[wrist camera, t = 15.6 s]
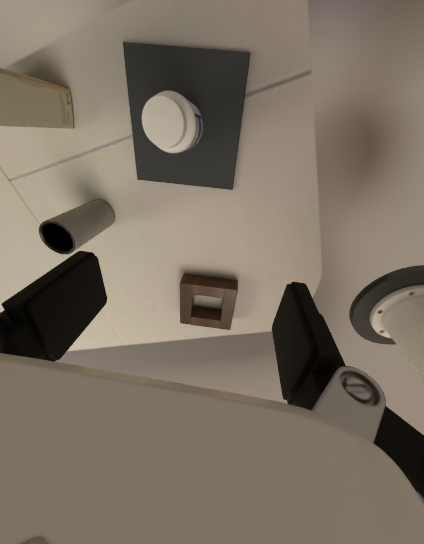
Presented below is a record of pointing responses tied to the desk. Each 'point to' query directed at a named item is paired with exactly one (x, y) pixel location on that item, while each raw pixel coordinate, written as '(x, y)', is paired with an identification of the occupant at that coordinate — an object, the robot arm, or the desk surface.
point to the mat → (203, 94)
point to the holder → (207, 288)
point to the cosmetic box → (33, 102)
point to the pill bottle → (172, 122)
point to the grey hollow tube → (76, 226)
